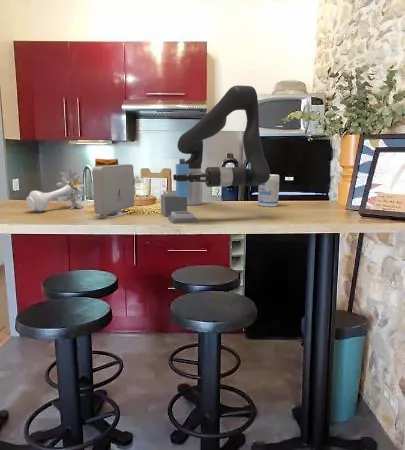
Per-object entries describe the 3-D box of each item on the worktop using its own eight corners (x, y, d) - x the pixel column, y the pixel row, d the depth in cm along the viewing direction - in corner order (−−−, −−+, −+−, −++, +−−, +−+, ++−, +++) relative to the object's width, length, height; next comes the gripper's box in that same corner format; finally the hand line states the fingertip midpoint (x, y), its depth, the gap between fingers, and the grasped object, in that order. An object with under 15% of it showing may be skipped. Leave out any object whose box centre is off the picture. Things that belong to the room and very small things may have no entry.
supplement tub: (255, 206, 203) (256, 175, 200) (260, 203, 211) (261, 173, 209) (276, 207, 199) (277, 175, 197) (280, 204, 208) (281, 174, 205)
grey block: (161, 213, 181) (160, 190, 179) (181, 212, 183) (181, 190, 181) (165, 216, 172) (164, 193, 170) (187, 215, 175) (187, 192, 173)
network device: (108, 219, 165) (106, 167, 161) (88, 218, 167) (86, 166, 164) (139, 210, 188) (138, 164, 185) (121, 209, 191) (120, 164, 187)
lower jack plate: (168, 219, 166) (168, 211, 166) (190, 218, 169) (190, 210, 168) (173, 223, 158) (173, 215, 157) (196, 222, 160) (196, 214, 160)
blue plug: (176, 196, 163) (175, 158, 161) (186, 195, 164) (186, 158, 162) (178, 197, 159) (178, 158, 157) (189, 196, 160) (188, 158, 158)
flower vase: (42, 229, 181) (91, 207, 197) (33, 188, 172) (85, 170, 188) (26, 220, 189) (75, 200, 205) (16, 181, 180) (68, 163, 196)
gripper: (213, 166, 170) (170, 166, 166) (224, 167, 157) (179, 168, 152) (213, 185, 172) (170, 186, 167) (224, 188, 158) (179, 189, 154)
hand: (175, 177), depth 160 cm, fingers closed on blue plug, 4 cm apart
